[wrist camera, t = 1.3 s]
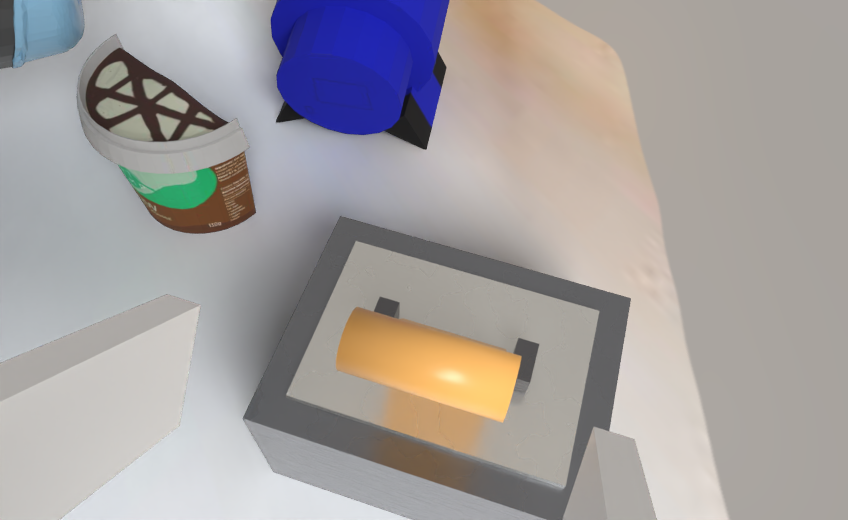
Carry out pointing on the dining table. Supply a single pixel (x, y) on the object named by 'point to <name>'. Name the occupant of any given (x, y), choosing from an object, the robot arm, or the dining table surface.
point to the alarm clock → (361, 64)
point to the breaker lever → (428, 363)
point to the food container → (165, 143)
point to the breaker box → (428, 420)
